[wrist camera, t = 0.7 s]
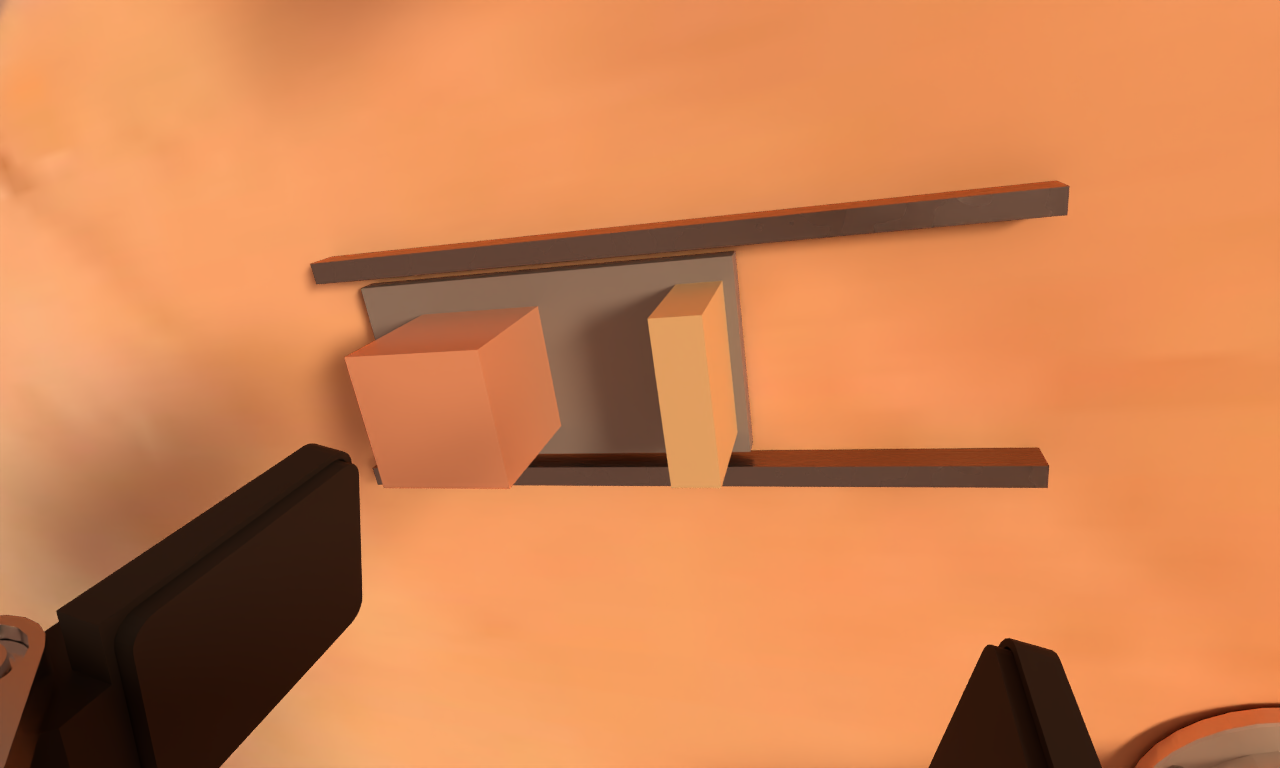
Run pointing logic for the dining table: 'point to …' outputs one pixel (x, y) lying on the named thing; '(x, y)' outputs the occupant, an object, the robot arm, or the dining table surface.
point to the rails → (742, 230)
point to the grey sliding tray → (620, 352)
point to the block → (457, 398)
